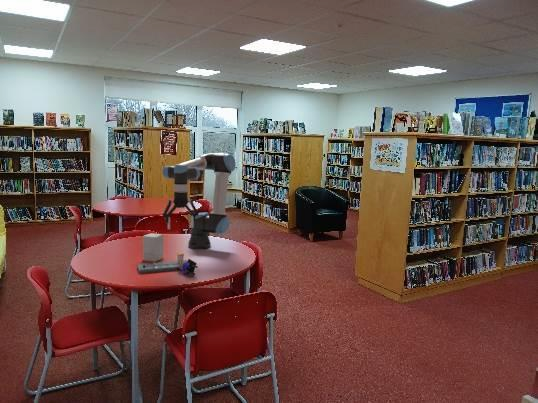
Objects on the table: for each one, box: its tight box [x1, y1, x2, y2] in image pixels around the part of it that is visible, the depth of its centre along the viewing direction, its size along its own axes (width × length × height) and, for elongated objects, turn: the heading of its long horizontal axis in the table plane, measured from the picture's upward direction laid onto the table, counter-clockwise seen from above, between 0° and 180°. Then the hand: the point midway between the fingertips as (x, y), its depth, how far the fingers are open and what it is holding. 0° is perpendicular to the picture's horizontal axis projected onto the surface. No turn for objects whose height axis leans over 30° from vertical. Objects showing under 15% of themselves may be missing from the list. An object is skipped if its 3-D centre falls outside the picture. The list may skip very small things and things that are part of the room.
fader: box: [176, 252, 185, 263], centre depth 235 cm, size 3×3×6 cm
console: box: [137, 259, 188, 275], centre depth 232 cm, size 28×12×3 cm, turn 111°
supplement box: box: [142, 232, 164, 263], centre depth 248 cm, size 9×9×15 cm
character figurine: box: [178, 258, 198, 276], centre depth 224 cm, size 8×7×15 cm
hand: (180, 228), depth 236 cm, fingers open, 13 cm apart
